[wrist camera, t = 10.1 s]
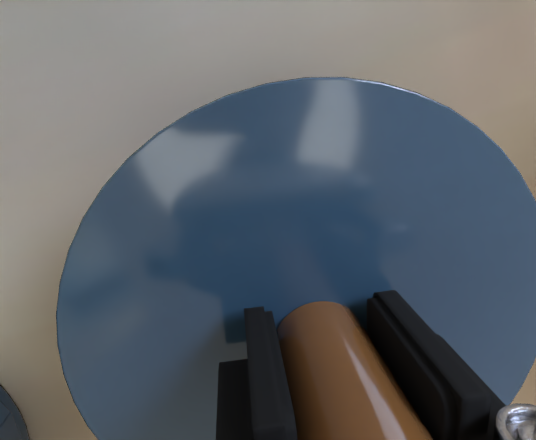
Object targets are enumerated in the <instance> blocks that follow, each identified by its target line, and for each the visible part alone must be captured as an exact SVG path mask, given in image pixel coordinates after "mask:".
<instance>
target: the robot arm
mask: <svg viewBox="0 0 536 440" xmlns="http://www.w3.org/2000/svg"><path fill="white" fill-rule="evenodd" d="M244 318H245V331H246V344H247V358H248V359H242V360H234V361H227V362H219V369H218V394H217V419H216V440H298V439H297V429H296V422H295V416H294V410H293V406H292V401H291V396H290V392H289V387H288V382H287V378H286V373H285V368H284V364H283V359H282V354H281V350H280V345H279V341H278V336H277V331H276V327H275V322H274V317H273V313H272V311H264V306H261V307H253V308H245V309H244ZM367 333H368V335H369V336H370V338H371V339H372V341H373V343H374V344H375V346H376V347H377V349H378V351H379V352H380V354H381V355H382V357H383V359H384V360H385V362H386V364H387V365H388V367H389V368H390V370H391V372H392V373H393V375H394V376H395V378H396V380H397V381H398V383H399V384H400V386H401V388H402V389H403V391H404V393H405V394H406V396H407V397H408V399H409V401H410V402H411V404H412V405H413V407H414V409H415V410H416V412H417V413H418V415H419V417H420V418H421V420H422V422H423V423H424V425H425V426H426V428H427V430H428V431H429V433H430V434H431V436H432V438H433V439H434V440H536V406H535V405H531V404H516V403H515V404H511V405H507V406H506V405H505V404H504V403H503V402H502V401H501V400H500V399H499V398H498V396H497V395H496V394H495V393H494V392H493V391H492V390H491V389H490V388H489V387H488V386H487V385H486V384H485V383H484V381H483V380H482V379H481V378H480V377H479V376H478V375H477V374H476V373H475V372H474V371H473V370H472V369H471V368H470V366H469V365H468V364H467V363H466V362H465V361H464V360H463V359H462V358H461V357H460V356H459V355H458V354H457V353H456V351H455V350H454V349H453V348H452V347H451V346H450V345H449V344H448V343H447V342H446V341H445V340H444V339H443V338H442V337H441V336H440V335H439V334H435V332H434V331H433V330H432V329H431V328H430V327H429V326H428V325H427V324H426V323H425V322H424V320H423V319H422V318H421V317H420V316H419V315H418V314H417V313H416V312H415V311H414V310H413V309H412V307H411V306H410V305H409V304H408V303H407V302H406V301H405V300H404V299H403V298H402V297H401V295H400V294H399V293H398V292H397V291H395V290H390V291H382V292H374V294H373V297H372V298H368V299H367Z"/></svg>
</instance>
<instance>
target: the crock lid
mask: <svg viewBox="0 0 536 440" xmlns="http://www.w3.org/2000/svg"><path fill="white" fill-rule="evenodd" d="M390 290H395V291H397V292H398V293H399V294H400V295H401V297H402V298H403V299H404V300H405V301H406V302H407V303H408V304H409V305H410V306H411V307H412V309H413V310H414V311H415V312H416V313H417V314H418V315H419V316H420V317H421V318H422V319H423V320H424V322H425V323H426V324H427V325H428V326H429V327H430V328H431V329H432V330H433V331H434V332H435V334H439V335H440V336H441V337H442V338H443V339H444V340H445V341H446V342H447V343H448V344H449V345H450V346H451V347H452V348H453V349H454V350H455V351H456V353H457V354H458V355H459V356H460V357H461V358H462V359H463V360H464V361H465V362H466V363H467V364H468V365H469V366H470V368H471V369H472V370H473V371H474V372H475V373H476V374H477V375H478V376H479V377H480V378H481V379H482V380H483V381H484V383H485V384H486V385H487V386H488V387H489V388H490V389H491V390H492V391H493V392H494V393H495V394H496V395H497V396H498V398H499V399H500V400H501V401H502V402H503V403H504V404H505V405H506V406H507V405H510V404H511V402H512V401H513V399H514V398H515V396H516V395H517V393H518V392H519V390H520V389H521V387H522V385H523V383H524V381H525V379H526V377H527V375H528V373H529V371H530V369H531V367H532V365H533V363H534V361H535V358H536V201H535V199H534V197H533V195H532V193H531V191H530V190H529V188H528V186H527V184H526V182H525V181H524V179H523V177H522V175H521V173H520V172H519V171H518V169H517V168H516V167H515V166H514V164H513V163H512V162H511V161H510V159H509V158H508V157H507V155H506V154H505V153H504V152H503V150H502V149H501V148H500V147H499V146H498V145H497V144H496V143H495V142H494V141H493V140H491V139H490V138H489V137H488V136H487V135H486V134H485V133H484V132H483V131H482V130H481V129H480V128H478V127H477V126H476V125H475V124H473V123H472V122H470V121H469V120H467V119H466V118H464V117H463V116H461V115H460V114H458V113H457V112H455V111H454V110H452V109H451V108H449V107H447V106H445V105H443V104H441V103H439V102H436V101H434V100H432V99H430V98H428V97H426V96H424V95H421V94H419V93H417V92H414V91H410V90H407V89H403V88H400V87H397V86H393V85H390V84H386V83H383V82H376V81H369V80H362V79H354V78H347V77H305V78H298V79H292V80H285V81H278V82H272V83H266V84H262V85H259V86H255V87H252V88H249V89H245V90H242V91H239V92H235V93H232V94H229V95H226V96H224V97H222V98H219V99H217V100H215V101H213V102H211V103H208V104H206V105H204V106H202V107H200V108H197V109H195V110H193V111H191V112H189V113H188V114H186V115H185V116H183V117H181V118H180V119H178V120H177V121H175V122H174V123H172V124H170V125H169V126H167V127H166V128H164V129H163V130H161V131H159V132H158V133H157V134H155V135H154V136H153V137H152V138H151V139H150V140H148V141H147V142H146V143H145V144H144V145H143V146H141V147H140V148H139V149H138V150H137V151H136V152H134V153H133V154H132V155H131V156H130V157H129V158H127V160H126V161H125V162H124V163H123V164H122V165H121V166H120V168H119V169H118V170H117V171H116V172H115V173H114V174H113V176H112V177H111V178H110V179H109V180H108V181H107V182H106V184H105V185H104V186H103V187H102V189H101V190H100V192H99V193H98V195H97V196H96V198H95V200H94V201H93V203H92V204H91V206H90V207H89V209H88V210H87V212H86V213H85V215H84V217H83V218H82V221H81V223H80V225H79V227H78V230H77V232H76V234H75V236H74V239H73V241H72V243H71V245H70V247H69V250H68V254H67V257H66V261H65V264H64V268H63V272H62V275H61V279H60V284H59V293H58V302H57V311H56V321H57V342H58V350H59V354H60V359H61V364H62V369H63V374H64V377H65V379H66V382H67V385H68V387H69V390H70V393H71V395H72V398H73V401H74V403H75V405H76V406H77V408H78V410H79V412H80V413H81V415H82V417H83V419H84V421H85V422H86V424H87V426H88V427H89V429H90V430H91V431H92V433H93V434H94V435H95V436H96V438H97V439H98V440H216V419H217V394H218V369H219V362H227V361H234V360H242V359H248V358H247V344H246V331H245V318H244V309H245V308H253V307H261V306H264V311H272V313H273V317H274V322H275V327H276V331H277V336H278V341H279V345H280V350H281V354H282V359H283V364H284V368H285V373H286V378H287V382H288V387H289V392H290V396H291V401H292V406H293V410H294V416H295V422H296V429H297V439H298V440H434V439H433V438H432V436H431V434H430V433H429V431H428V430H427V428H426V426H425V425H424V423H423V422H422V420H421V418H420V417H419V415H418V413H417V412H416V410H415V409H414V407H413V405H412V404H411V402H410V401H409V399H408V397H407V396H406V394H405V393H404V391H403V389H402V388H401V386H400V384H399V383H398V381H397V380H396V378H395V376H394V375H393V373H392V372H391V370H390V368H389V367H388V365H387V364H386V362H385V360H384V359H383V357H382V355H381V354H380V352H379V351H378V349H377V347H376V346H375V344H374V343H373V341H372V339H371V338H370V336H369V335H368V333H367V299H368V298H372V297H373V294H374V292H382V291H390Z"/></svg>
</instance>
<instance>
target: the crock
mask: <svg viewBox="0 0 536 440" xmlns="http://www.w3.org/2000/svg"><path fill="white" fill-rule="evenodd" d="M0 440H30V439H29V436H28V432H27V428H26V425H25V423H24V420H23V418H22V416H21V414H20V412H19V410H18V408H17V407H16V405H15V404H14V402H13V400H12V399H11V397H10V396H9V395H8V394H7V392H6V391H5V390H4V389H3V388H2V387H1V385H0Z"/></svg>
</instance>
